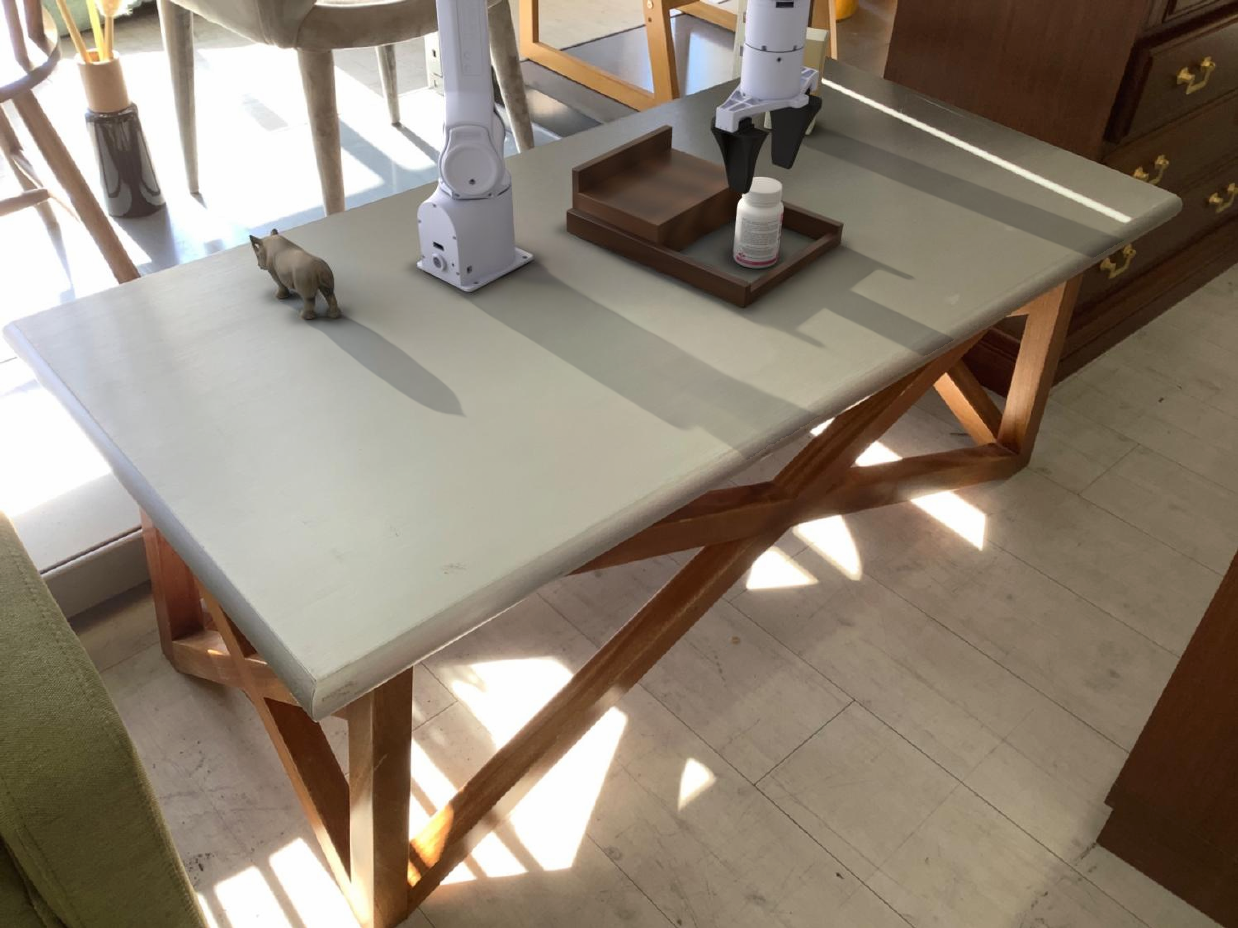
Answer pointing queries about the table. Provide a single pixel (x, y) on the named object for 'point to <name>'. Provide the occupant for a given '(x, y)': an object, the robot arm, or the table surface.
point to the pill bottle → (759, 224)
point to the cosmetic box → (811, 62)
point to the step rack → (677, 214)
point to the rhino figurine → (296, 272)
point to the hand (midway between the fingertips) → (760, 178)
